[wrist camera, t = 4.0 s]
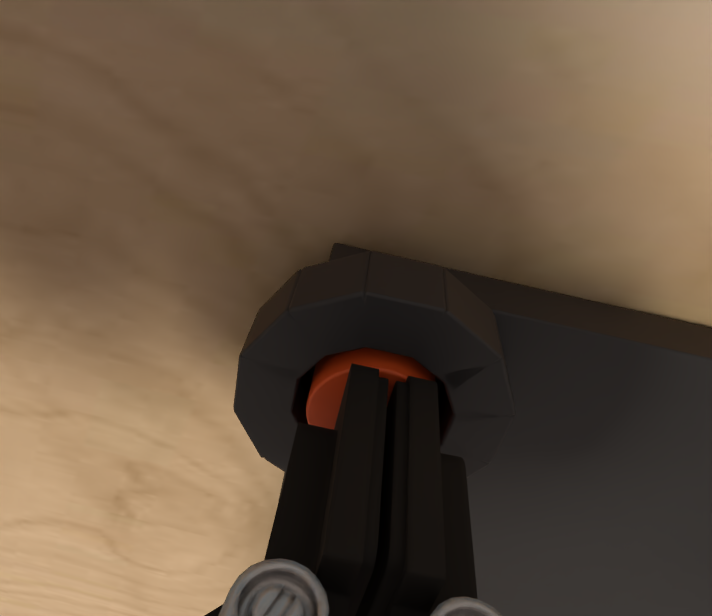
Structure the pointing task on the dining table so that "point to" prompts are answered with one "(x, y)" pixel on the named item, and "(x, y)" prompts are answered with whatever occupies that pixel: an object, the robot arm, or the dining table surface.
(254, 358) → the scale
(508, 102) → the dining table surface
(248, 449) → the dining table surface
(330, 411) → the button
